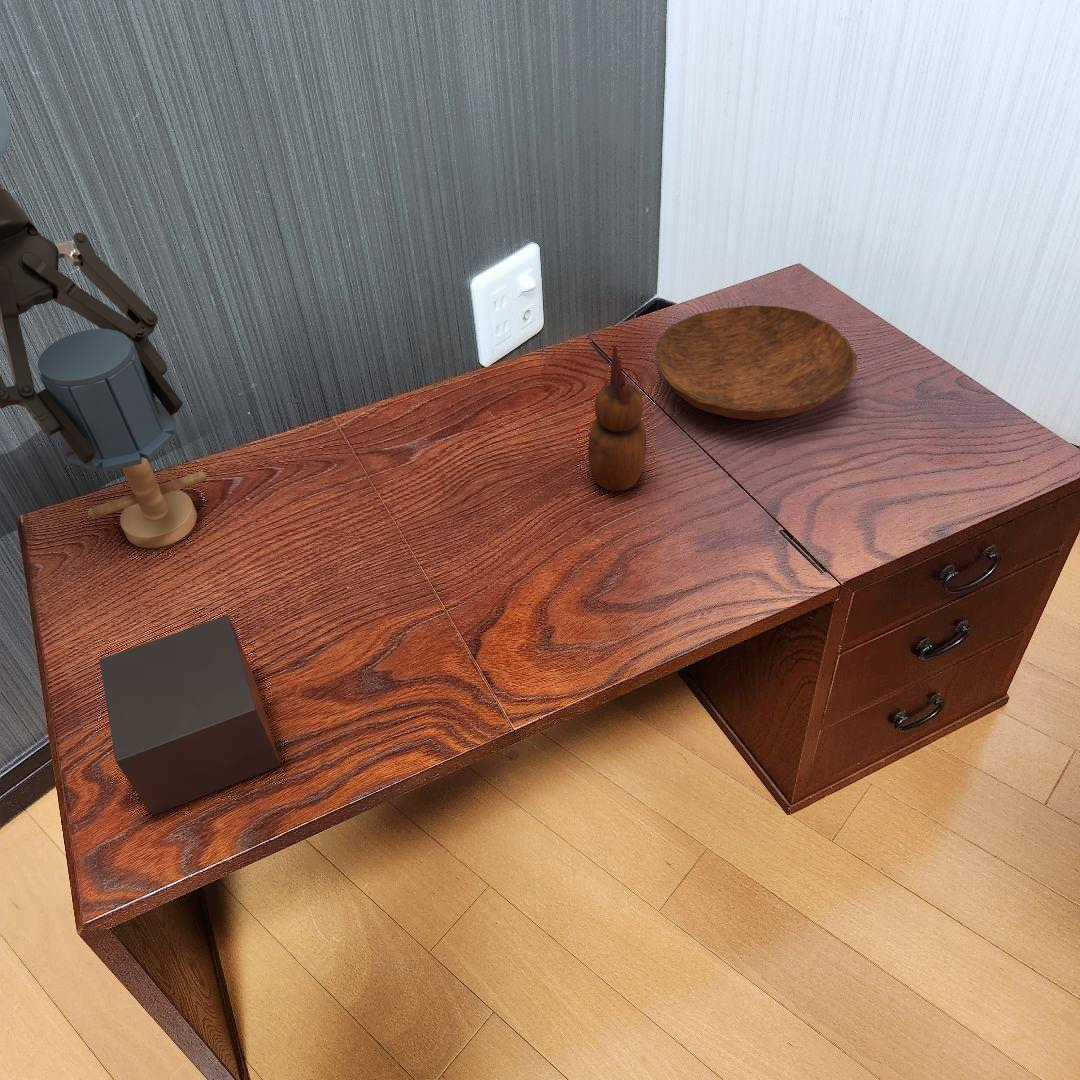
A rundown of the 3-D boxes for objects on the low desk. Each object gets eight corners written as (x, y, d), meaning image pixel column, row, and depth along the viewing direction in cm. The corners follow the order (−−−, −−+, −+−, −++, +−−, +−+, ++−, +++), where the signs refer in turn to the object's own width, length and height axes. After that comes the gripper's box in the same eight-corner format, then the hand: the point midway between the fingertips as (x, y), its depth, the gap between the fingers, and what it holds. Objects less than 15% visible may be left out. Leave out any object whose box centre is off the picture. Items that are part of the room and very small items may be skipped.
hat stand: (110, 566, 90) (41, 437, 78) (97, 522, 94) (30, 394, 82) (226, 524, 93) (177, 395, 82) (208, 483, 98) (159, 356, 86)
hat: (44, 452, 84) (-1, 370, 78) (120, 393, 90) (84, 312, 83) (123, 482, 81) (84, 399, 74) (197, 419, 87) (166, 337, 80)
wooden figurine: (591, 455, 99) (593, 334, 88) (646, 458, 98) (654, 337, 87) (584, 498, 94) (585, 377, 83) (641, 502, 94) (650, 380, 83)
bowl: (879, 426, 101) (890, 389, 97) (686, 461, 98) (690, 424, 94) (802, 328, 114) (810, 292, 111) (631, 357, 111) (632, 320, 108)
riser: (152, 816, 71) (115, 761, 65) (134, 716, 77) (98, 658, 72) (281, 766, 74) (256, 709, 68) (253, 673, 80) (228, 614, 74)
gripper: (73, 185, 87) (222, 390, 91) (-159, 277, 76) (22, 505, 80) (81, 143, 81) (241, 365, 85) (-171, 237, 70) (25, 486, 74)
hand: (134, 433), depth 82 cm, fingers closed on hat, 8 cm apart
